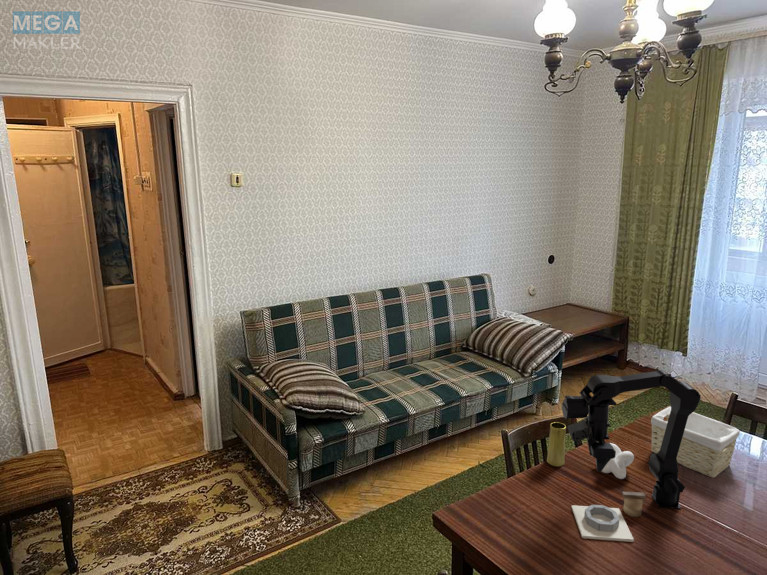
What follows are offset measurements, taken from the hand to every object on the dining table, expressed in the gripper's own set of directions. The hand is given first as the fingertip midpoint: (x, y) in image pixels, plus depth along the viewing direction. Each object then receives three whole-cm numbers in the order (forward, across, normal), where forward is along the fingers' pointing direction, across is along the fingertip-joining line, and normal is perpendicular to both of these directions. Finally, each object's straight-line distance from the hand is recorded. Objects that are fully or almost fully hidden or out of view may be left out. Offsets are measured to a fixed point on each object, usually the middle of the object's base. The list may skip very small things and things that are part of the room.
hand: (595, 463), depth 166 cm
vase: (+13, -22, -8) cm, 27 cm away
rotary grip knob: (+14, +4, +10) cm, 18 cm away
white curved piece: (+14, -18, +10) cm, 25 cm away
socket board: (+13, +11, 0) cm, 17 cm away
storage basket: (+15, -29, +40) cm, 52 cm away
